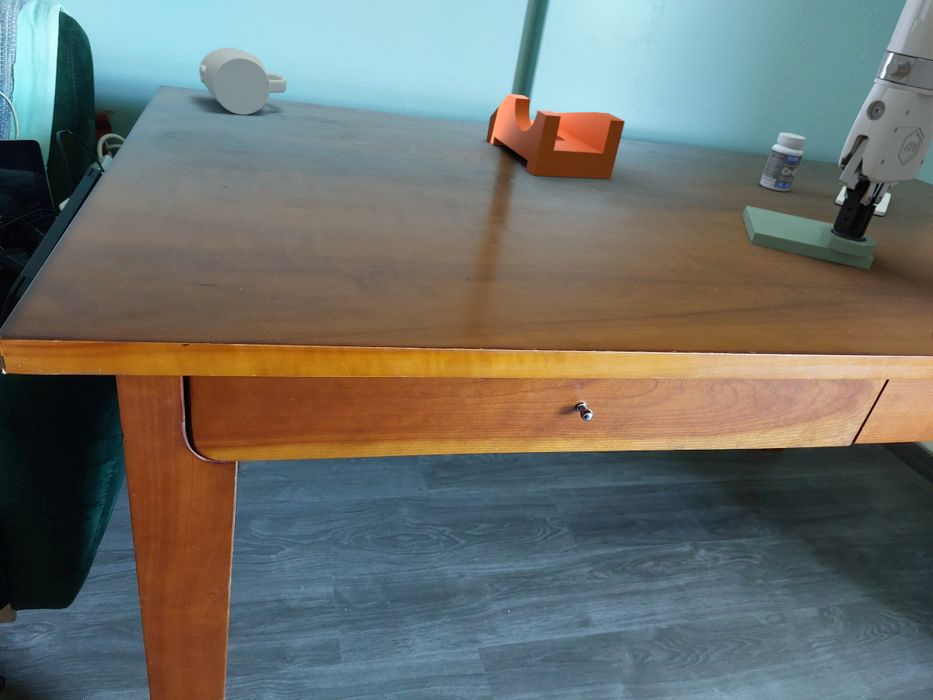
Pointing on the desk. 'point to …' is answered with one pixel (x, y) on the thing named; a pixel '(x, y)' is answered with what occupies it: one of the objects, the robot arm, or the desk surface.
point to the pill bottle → (783, 162)
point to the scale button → (845, 236)
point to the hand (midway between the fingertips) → (847, 232)
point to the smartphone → (880, 207)
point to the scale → (806, 238)
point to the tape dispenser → (557, 139)
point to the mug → (239, 80)
